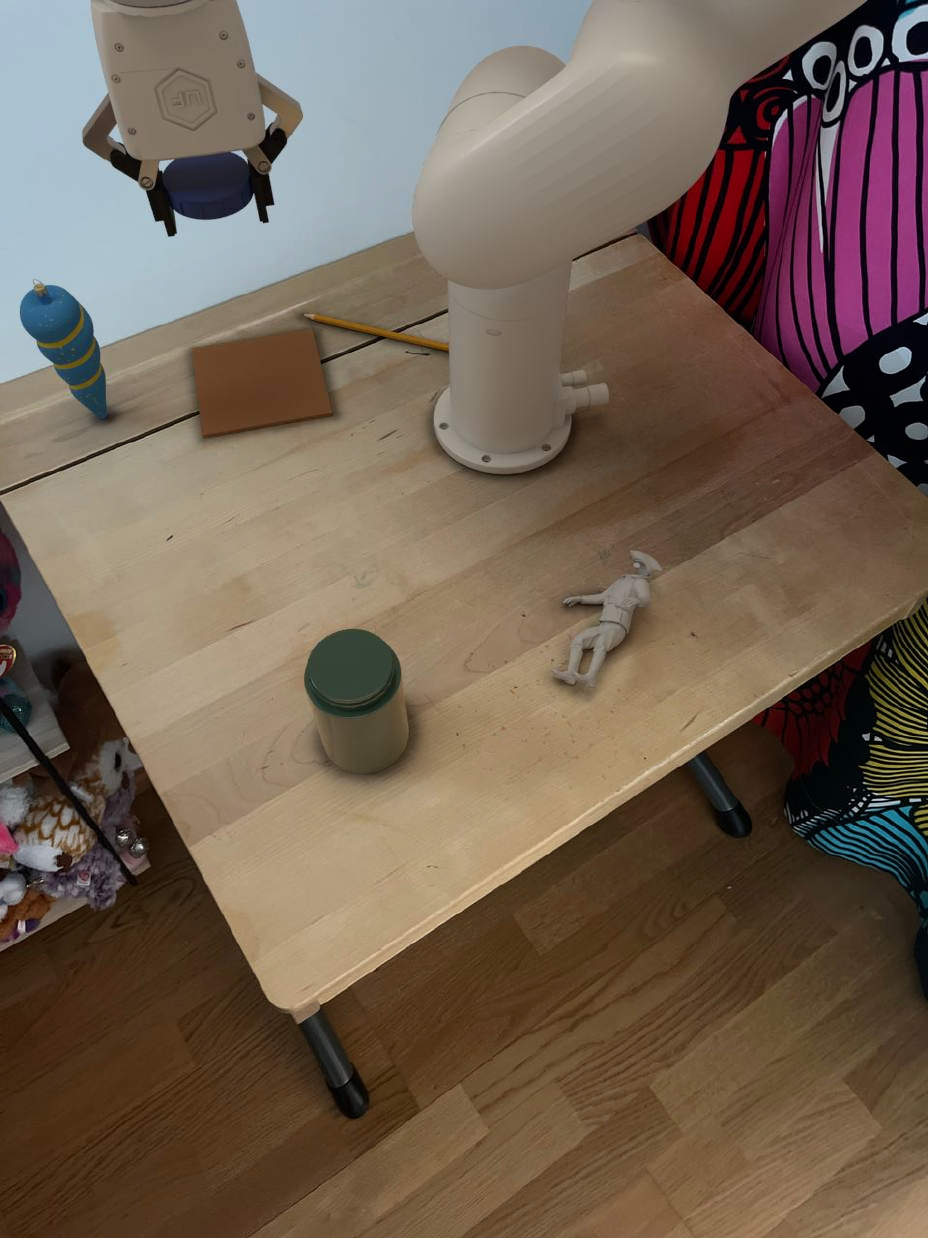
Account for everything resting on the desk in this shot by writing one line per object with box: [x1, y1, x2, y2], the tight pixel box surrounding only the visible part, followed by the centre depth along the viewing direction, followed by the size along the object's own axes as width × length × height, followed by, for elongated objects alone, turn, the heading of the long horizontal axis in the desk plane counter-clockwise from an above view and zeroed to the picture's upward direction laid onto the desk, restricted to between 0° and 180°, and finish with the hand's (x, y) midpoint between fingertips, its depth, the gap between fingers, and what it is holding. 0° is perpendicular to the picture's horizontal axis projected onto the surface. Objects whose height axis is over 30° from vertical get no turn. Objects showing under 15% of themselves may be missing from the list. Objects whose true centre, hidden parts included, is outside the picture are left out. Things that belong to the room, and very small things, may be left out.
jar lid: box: [162, 152, 254, 221], centre depth 70 cm, size 7×7×2 cm
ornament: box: [19, 278, 108, 420], centre depth 79 cm, size 5×5×15 cm
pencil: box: [301, 313, 449, 352], centre depth 91 cm, size 19×1×1 cm, turn 71°
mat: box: [191, 328, 333, 439], centre depth 87 cm, size 12×12×1 cm
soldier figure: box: [551, 549, 663, 689], centre depth 71 cm, size 8×5×12 cm
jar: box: [303, 628, 410, 775], centre depth 63 cm, size 6×6×10 cm
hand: (217, 217), depth 73 cm, fingers closed on jar lid, 6 cm apart
